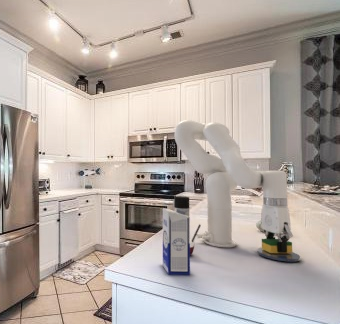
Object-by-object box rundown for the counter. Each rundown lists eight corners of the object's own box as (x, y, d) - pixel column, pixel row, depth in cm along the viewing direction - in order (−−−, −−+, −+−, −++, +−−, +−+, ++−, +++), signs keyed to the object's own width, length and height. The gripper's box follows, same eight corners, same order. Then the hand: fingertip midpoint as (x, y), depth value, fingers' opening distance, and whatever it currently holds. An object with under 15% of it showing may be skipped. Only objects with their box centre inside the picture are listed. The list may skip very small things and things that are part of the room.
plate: (272, 263, 88) (272, 258, 88) (249, 250, 101) (249, 247, 101) (310, 263, 88) (310, 259, 88) (282, 251, 101) (282, 247, 101)
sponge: (270, 253, 93) (270, 242, 93) (261, 249, 98) (261, 238, 98) (292, 253, 93) (292, 242, 93) (282, 249, 98) (281, 238, 98)
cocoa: (171, 253, 97) (171, 222, 97) (177, 249, 102) (177, 220, 102) (196, 260, 91) (196, 226, 91) (202, 255, 95) (202, 224, 96)
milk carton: (162, 265, 85) (162, 207, 85) (182, 266, 85) (182, 207, 85) (168, 274, 78) (168, 210, 78) (190, 275, 78) (190, 210, 78)
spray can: (178, 236, 121) (178, 195, 121) (191, 239, 116) (191, 196, 116) (171, 239, 116) (171, 196, 116) (185, 242, 111) (185, 198, 112)
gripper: (251, 199, 105) (252, 243, 104) (282, 205, 88) (283, 257, 87) (269, 199, 105) (270, 243, 104) (303, 205, 88) (305, 257, 87)
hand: (276, 249), depth 96 cm, fingers closed on sponge, 5 cm apart
